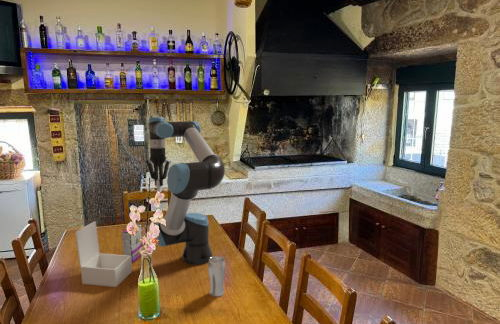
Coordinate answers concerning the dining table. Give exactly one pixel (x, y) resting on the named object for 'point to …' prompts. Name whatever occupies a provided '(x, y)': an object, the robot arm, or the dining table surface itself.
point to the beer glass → (216, 275)
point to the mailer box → (106, 270)
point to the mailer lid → (87, 243)
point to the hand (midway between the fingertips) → (159, 192)
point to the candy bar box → (132, 244)
